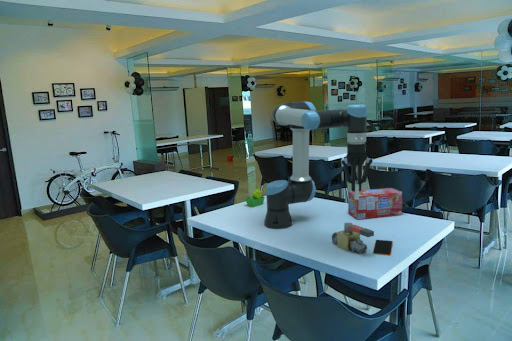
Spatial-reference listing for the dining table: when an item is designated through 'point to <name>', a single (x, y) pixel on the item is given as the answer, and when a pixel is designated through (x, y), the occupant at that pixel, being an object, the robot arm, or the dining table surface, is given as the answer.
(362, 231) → the lever
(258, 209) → the dining table surface
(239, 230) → the dining table surface
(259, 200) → the fruit basket
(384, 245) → the smartphone
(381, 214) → the box
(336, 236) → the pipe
